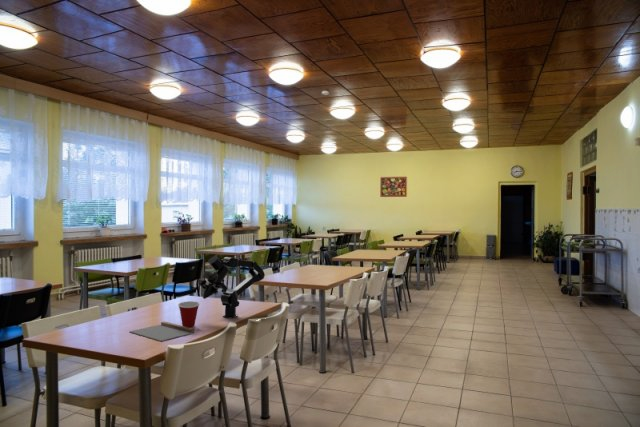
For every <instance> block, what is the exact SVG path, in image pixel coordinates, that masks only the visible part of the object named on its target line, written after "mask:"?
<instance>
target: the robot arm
mask: <svg viewBox="0 0 640 427" xmlns="http://www.w3.org/2000/svg"><path fill="white" fill-rule="evenodd" d="M208 264H209V265H210V266H211V268H212V269H213V270H214V271H212V272H211V271H210V272H209V271H204V273H203V276H202V278H204V279H199V280H198V281H197V284H198V285H199V286H200V287H201V288H202V289H203V290H204V292H203V295H202V299H204V300H205V299H207V298H209V297H210V296H213V295H215V294H216V293H219V290H220V289H221V292H222V294H221V295H220V301H221V305H222V306H225V307H224V315H222V318H227V317H233V316H236V315H237V313H236V312H237V308H238V307H239V306H240V301H239V300H238V298H239V296H240V295H241V294H243V293H244V292H245V291H246V290H247V289H248V288H249V287H251V286H252V285H253V284H255V283H258V282H260V281H262V280H264V278H265V276H266V274H265V272H264V270H263V268H262V267H261V266H259V264H258V262H256V261H255V260H241V259H238V258H236V257H230V256H225V257H223V259H222V258H221V257H220V255H219V254H215V255H214V256H211V257H210V258H209V259H208ZM237 267H242V268H243V267H244V268H246V267H247V268H248V273H249V274H248V277H247V278H245V279H244V280H243V281H241V282H240V283H239V284H237V285H236V287H234V288H233V289H232V288H228V286H226V284H225V278H226V276H227V275H232V272H231V271H232V270H231V269H229V268H233V269H234V268H237ZM206 279H207V280H206ZM236 317H237V316H236Z"/></svg>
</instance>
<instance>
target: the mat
mask: <svg viewBox="0 0 640 427" xmlns="http://www.w3.org/2000/svg"><path fill="white" fill-rule="evenodd" d="M128 333H131V334H133V335H134V334H135V335H137V336H141V337H144V338H147V339H151V340H154V341H159V342H160V343H162V342H165V341H170V340H174V339H178V338H181V337H185V336H188V335H189V336H190V335H193V333H190V332H187V331H183V330H179V329H175V328H171V327H167V326H163V325H161V324H157V325H151V326H148V327H144V328H143V327H142V328H139V329H134V330H130V331H129V332H128Z"/></svg>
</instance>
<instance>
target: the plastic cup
mask: <svg viewBox="0 0 640 427" xmlns="http://www.w3.org/2000/svg"><path fill="white" fill-rule="evenodd" d="M200 304H201V303H200V302H197V301H193V300H192V301H183V302H179V303H178V304H177V306H178V309H179V312H180V319H181V320H180V321H181V326H185V327H189V328H194V327H195V325H196V319H197V315H198V310H199V306H200Z"/></svg>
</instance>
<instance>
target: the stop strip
mask: <svg viewBox="0 0 640 427" xmlns="http://www.w3.org/2000/svg"><path fill="white" fill-rule="evenodd" d="M160 325H163V326H167V327H171V328H175V329H179V330H183V331H187V332H190V333H192V334H194V333H195V328H194V327H191V328H189V327H185V326H183V325H182V324H176V323H172V322H168V321H165V320H164V321H161V322H160Z"/></svg>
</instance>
